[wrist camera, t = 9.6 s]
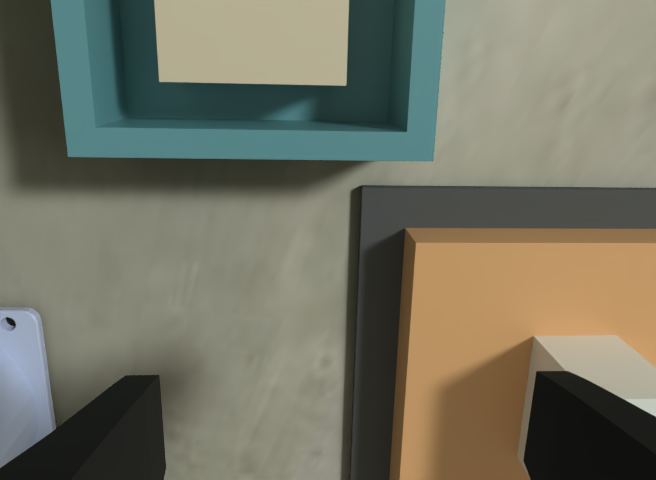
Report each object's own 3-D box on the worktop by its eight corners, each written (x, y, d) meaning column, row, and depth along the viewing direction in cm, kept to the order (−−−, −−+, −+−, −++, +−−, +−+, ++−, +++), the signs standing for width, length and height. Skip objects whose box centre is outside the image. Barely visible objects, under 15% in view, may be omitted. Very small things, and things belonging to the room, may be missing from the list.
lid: (388, 500, 24) (418, 632, 18) (405, 227, 20) (448, 288, 15) (658, 491, 24) (766, 616, 19) (719, 228, 21) (873, 286, 15)
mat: (347, 527, 24) (348, 535, 24) (361, 185, 20) (362, 187, 20) (680, 517, 25) (686, 524, 25) (761, 189, 21) (769, 191, 21)
